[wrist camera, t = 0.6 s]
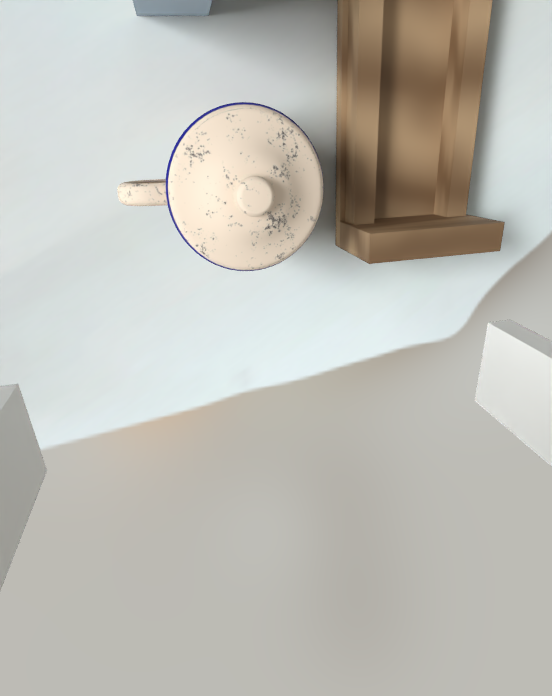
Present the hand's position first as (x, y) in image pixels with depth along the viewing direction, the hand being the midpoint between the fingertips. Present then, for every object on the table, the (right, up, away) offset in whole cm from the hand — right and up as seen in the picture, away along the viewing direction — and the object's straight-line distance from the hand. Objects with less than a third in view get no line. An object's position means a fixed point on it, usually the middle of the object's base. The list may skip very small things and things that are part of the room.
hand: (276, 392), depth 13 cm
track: (+9, +21, +20) cm, 31 cm away
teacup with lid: (-5, +13, +20) cm, 25 cm away
